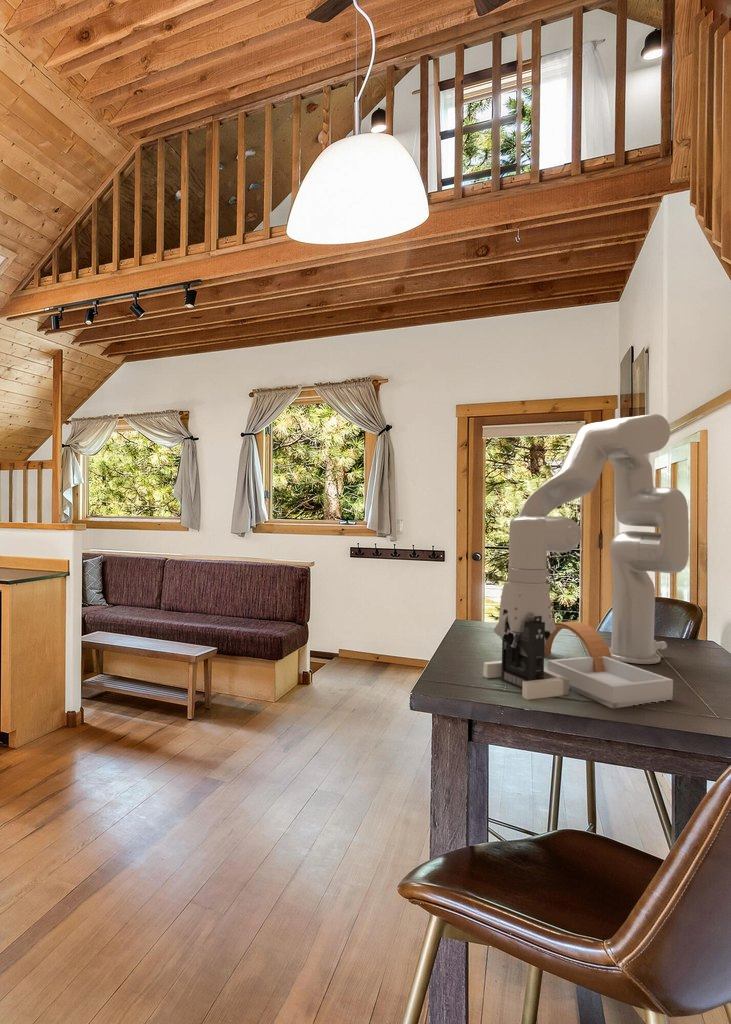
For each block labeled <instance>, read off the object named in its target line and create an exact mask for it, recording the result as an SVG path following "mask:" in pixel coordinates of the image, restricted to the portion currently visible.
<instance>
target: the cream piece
mask: <svg viewBox="0 0 731 1024" xmlns="http://www.w3.org/2000/svg"><path fill="white" fill-rule="evenodd" d="M482 669H483V671H482V672H483V673H482V676H483V677H484V678H486V679H492V678H495V679H496V678H501V673H502V660H496V661H484V662H483V668H482ZM521 690H522V691H521V698H523V699H525V700H527V701H528V700H536V699H544V698H553V697H562V696H569V695H570V689H569V679H567V678H565V677H563V676H560V675H558V674H556V673H553V672H551V671H549V670H547V669H546V668H544V679H542V680H533V681H524V682H522V689H521Z"/></svg>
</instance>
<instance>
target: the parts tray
mask: <svg viewBox="0 0 731 1024" xmlns="http://www.w3.org/2000/svg"><path fill="white" fill-rule="evenodd" d="M599 658H602V660H603V665H604V671H602V672H594V671H593V662H594V661H593V657H590V655H589V656H582V657H581V656H580V657H569V658H568V657H567V658H560V659H559V658H557V659H548V660H547V669H546V670H549V671H551V672H553V673H556V674H558V675H560V676H563V677H565V678H567V679H569V690H570V691H573V692H576V693H577V694H579V695H582V696H585V697H586V698H588V699H591V700H593V701H595V702H597V703H599V704H602V705H604V706H606V707H608V708H611V710H612V709H620V708H625V707H628V708H629V707H633V705H635V706H640V705H639V704H642V705H645V704H644V703H649V704H651V703H650V702H656V703H660V702H659V701H664V702H667V701H666V700H671V701H673V699H674V698H673V692H674V691H673V690H674V679H672V678H669V677H666V676H663V675H661V674H657V673H656V672H655V673H654V672H651V671H649V670H645V669H643V668H640V667H638V666H635V665H631V664H630V663H629V664H628V663H627V662H623V661H619V660H615V659H612V658H609V657H606V656H602V657H599Z"/></svg>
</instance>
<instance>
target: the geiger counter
mask: <svg viewBox="0 0 731 1024" xmlns="http://www.w3.org/2000/svg"><path fill="white" fill-rule="evenodd" d="M537 619H539V621H537ZM508 626H509V625H508ZM507 630H508V629H504V631H505V632H506V634H507ZM512 638H513V636H512ZM501 641H502V643H501V646H502V647H501V661H502V673H501V677H500V678H501V679H500V680H501V681H502V682H504V683H507V684H509V685H510V686H514V687H516V688H519V689H521V690H522V682H524V681H533V680H542V679H544V669H545V654H544V642H545V622H542V616H534V622H525V624H524V632H523V633H520V637H519V641H518V645H517V647H518V648H519V649H520V656H519V667H514V666H511V665H509V664H508V663H507V645H506V644H505V643H504V641H503V640H502V639H501Z"/></svg>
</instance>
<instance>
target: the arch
mask: <svg viewBox="0 0 731 1024" xmlns="http://www.w3.org/2000/svg"><path fill="white" fill-rule="evenodd" d="M554 624H555V625H556V629H555V630H554V631H553V632H552V634H550V637H549V638H548V639H547V640H546V644H545V645H544V655H549V654H551V653H552V646H553V643H554V640H555V638H556V637H557V635H558V634H559V632H560V631H562V630H564V629H566V630H568V631H570V632H571V633H573V634H574V635H576V637H578V639H579V640H580V641H581V642H582V643H583V645H584V647H585V649H586V650H587V652H588V655H589V656H590V657H593V661H594V662H593V671H594V672H602V671H604V665H603V660H602V658H599V657H602V656H606V657H609V658H612V656H611V653H610V651H609V649H608V645H607V643H606V641H605V640H604V639H603V636H601V635H600V633H599V632H597V631H596V630H595V628H593V627H592V626H590V625H589V624H586V623H585V622H580V621H576V620H575V621H572V620H570V621H559V622H554ZM548 653H549V654H548Z"/></svg>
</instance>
